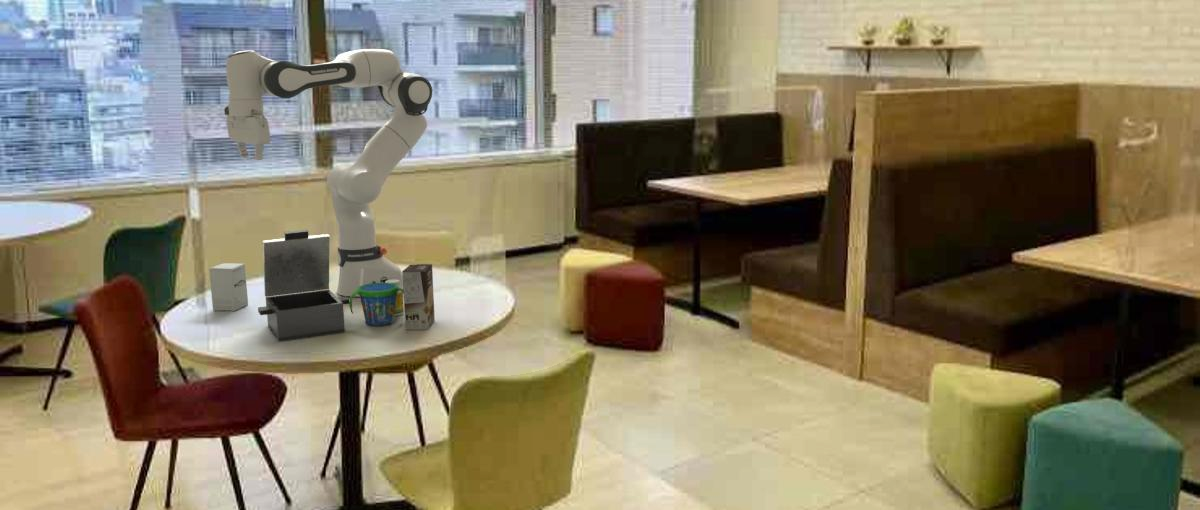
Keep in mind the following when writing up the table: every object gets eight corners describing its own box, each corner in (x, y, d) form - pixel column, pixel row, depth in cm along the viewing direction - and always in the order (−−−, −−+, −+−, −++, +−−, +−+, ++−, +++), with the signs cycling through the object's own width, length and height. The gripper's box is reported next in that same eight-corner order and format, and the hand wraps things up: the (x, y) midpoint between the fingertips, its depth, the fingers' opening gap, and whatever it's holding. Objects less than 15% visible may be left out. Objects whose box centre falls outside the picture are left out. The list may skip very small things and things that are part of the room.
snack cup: (408, 315, 275) (406, 280, 273) (409, 325, 265) (407, 289, 263) (350, 319, 271) (348, 284, 269) (350, 330, 261) (347, 293, 259)
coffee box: (428, 330, 260) (425, 271, 257) (404, 330, 261) (401, 271, 257) (435, 320, 269) (432, 263, 266) (412, 320, 270) (409, 263, 266)
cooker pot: (341, 315, 276) (339, 288, 274) (356, 330, 261) (354, 301, 259) (256, 327, 265) (254, 298, 264) (266, 343, 251) (263, 313, 249)
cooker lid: (329, 289, 273) (328, 286, 273) (329, 229, 263) (328, 227, 264) (265, 296, 265) (264, 294, 266) (263, 236, 256) (262, 233, 256)
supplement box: (235, 311, 282) (231, 268, 279) (212, 310, 283) (207, 268, 281) (249, 305, 289) (245, 263, 286) (226, 304, 290) (222, 262, 288)
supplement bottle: (382, 312, 278) (380, 280, 276) (401, 310, 280) (399, 277, 278) (387, 317, 273) (385, 284, 271) (406, 314, 276) (404, 281, 274)
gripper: (273, 110, 269) (278, 160, 272) (242, 107, 284) (247, 155, 287) (251, 111, 265) (256, 162, 268) (221, 108, 279) (226, 157, 282)
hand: (251, 158), depth 277 cm, fingers open, 8 cm apart
